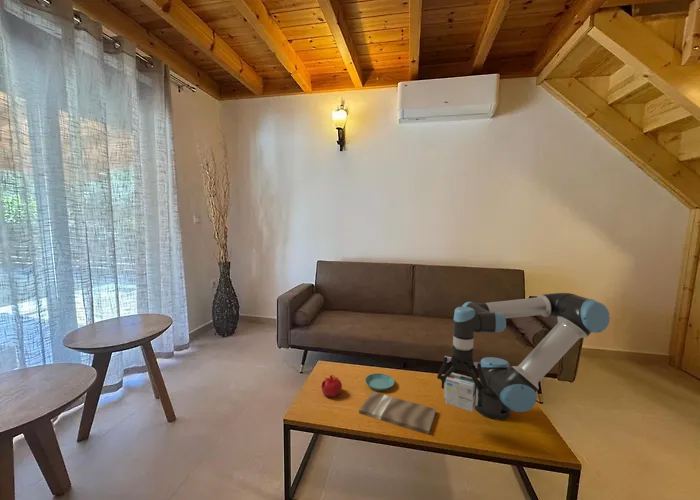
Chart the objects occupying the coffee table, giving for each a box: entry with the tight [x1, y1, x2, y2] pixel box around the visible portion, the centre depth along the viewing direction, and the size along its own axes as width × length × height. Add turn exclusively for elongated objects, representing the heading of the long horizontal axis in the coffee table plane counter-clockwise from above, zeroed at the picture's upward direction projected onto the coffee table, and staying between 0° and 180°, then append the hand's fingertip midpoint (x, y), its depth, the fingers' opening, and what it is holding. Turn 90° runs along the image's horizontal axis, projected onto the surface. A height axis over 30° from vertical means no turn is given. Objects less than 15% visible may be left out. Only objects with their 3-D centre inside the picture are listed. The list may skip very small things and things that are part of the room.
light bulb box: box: [444, 371, 476, 413], centre depth 122 cm, size 11×7×11 cm, turn 57°
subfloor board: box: [358, 391, 437, 436], centre depth 134 cm, size 30×16×2 cm, turn 65°
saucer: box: [364, 373, 395, 392], centre depth 157 cm, size 15×15×3 cm
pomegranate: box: [321, 375, 343, 398], centre depth 148 cm, size 10×10×9 cm
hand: (460, 399), depth 123 cm, fingers closed on light bulb box, 11 cm apart
